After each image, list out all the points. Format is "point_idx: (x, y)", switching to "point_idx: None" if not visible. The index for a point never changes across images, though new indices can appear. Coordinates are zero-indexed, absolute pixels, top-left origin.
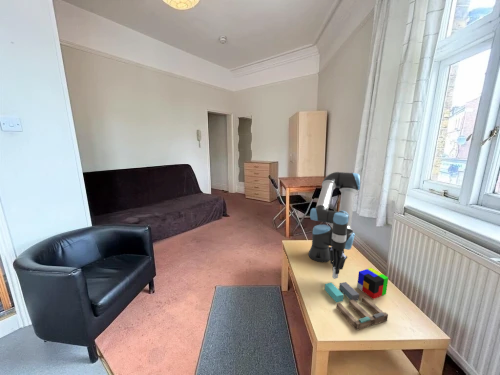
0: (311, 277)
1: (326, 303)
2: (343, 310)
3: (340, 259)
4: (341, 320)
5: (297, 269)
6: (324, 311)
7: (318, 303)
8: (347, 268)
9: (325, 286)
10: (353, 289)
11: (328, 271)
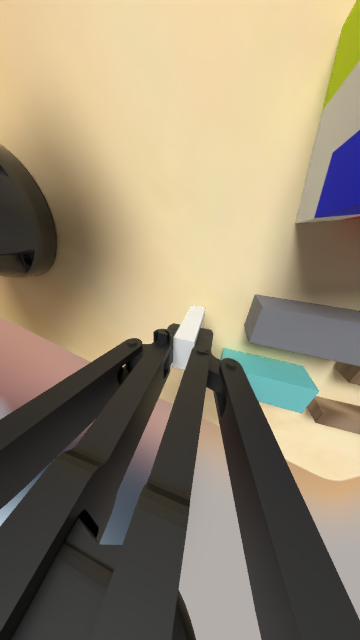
0: None
1: (269, 407)
2: (357, 432)
3: (259, 608)
4: None
5: None
6: (288, 430)
7: None
8: (117, 102)
9: None
10: (340, 323)
11: (126, 271)
